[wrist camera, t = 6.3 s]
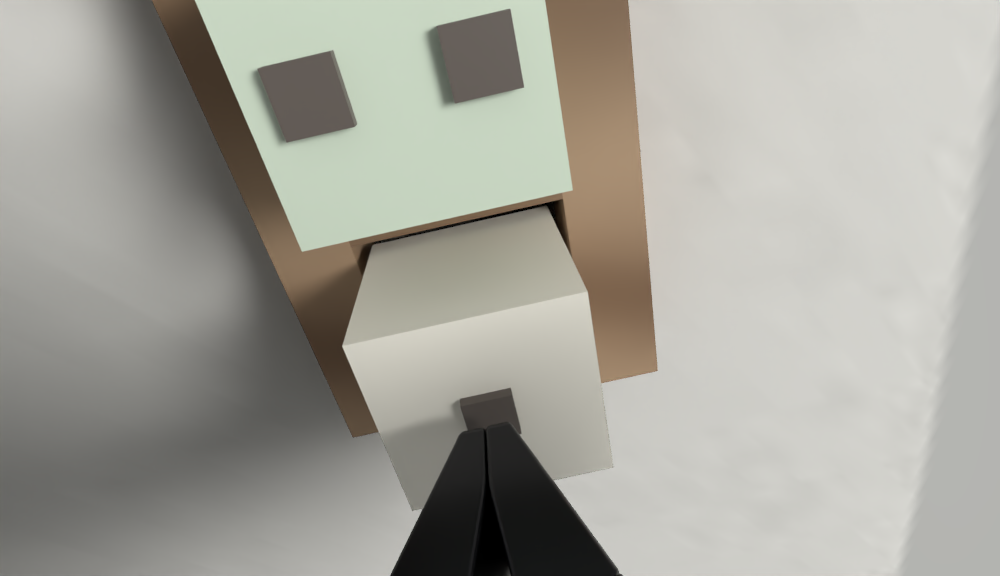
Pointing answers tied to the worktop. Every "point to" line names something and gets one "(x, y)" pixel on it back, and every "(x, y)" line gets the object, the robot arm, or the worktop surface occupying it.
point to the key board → (579, 213)
